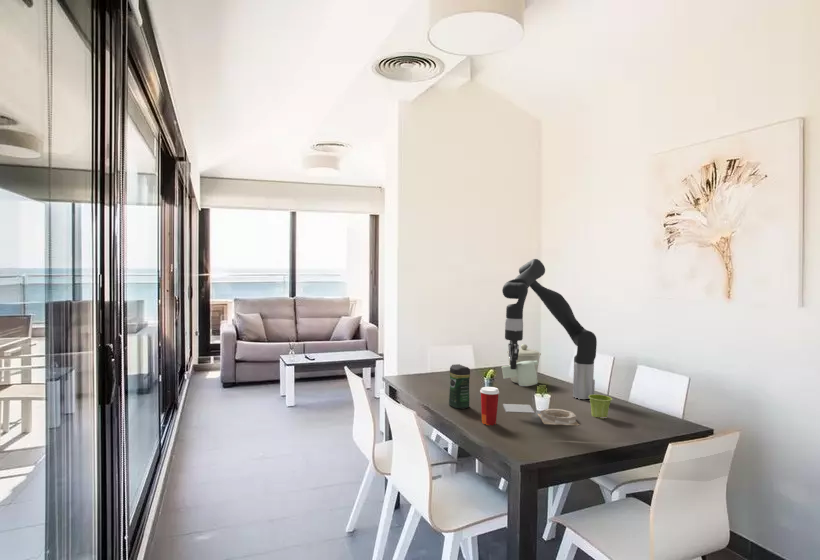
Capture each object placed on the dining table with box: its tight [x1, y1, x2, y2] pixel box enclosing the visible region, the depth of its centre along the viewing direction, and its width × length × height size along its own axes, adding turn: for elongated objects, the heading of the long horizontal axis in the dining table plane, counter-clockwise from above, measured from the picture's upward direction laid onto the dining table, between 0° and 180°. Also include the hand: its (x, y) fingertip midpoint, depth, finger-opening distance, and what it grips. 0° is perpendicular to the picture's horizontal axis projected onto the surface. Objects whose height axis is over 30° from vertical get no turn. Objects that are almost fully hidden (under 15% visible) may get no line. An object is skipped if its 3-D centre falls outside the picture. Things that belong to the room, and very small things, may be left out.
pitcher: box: [501, 360, 539, 387], centre depth 216 cm, size 15×8×9 cm, turn 88°
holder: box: [537, 408, 580, 426], centre depth 206 cm, size 14×14×3 cm
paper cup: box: [479, 386, 500, 426], centre depth 200 cm, size 8×8×14 cm
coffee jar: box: [448, 363, 471, 410], centre depth 224 cm, size 10×8×19 cm
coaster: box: [502, 403, 536, 414], centre depth 221 cm, size 12×12×1 cm
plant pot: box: [588, 394, 613, 418], centre depth 212 cm, size 9×9×9 cm
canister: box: [507, 343, 542, 385], centre depth 274 cm, size 18×18×21 cm
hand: (512, 368), depth 216 cm, fingers closed on pitcher, 1 cm apart
